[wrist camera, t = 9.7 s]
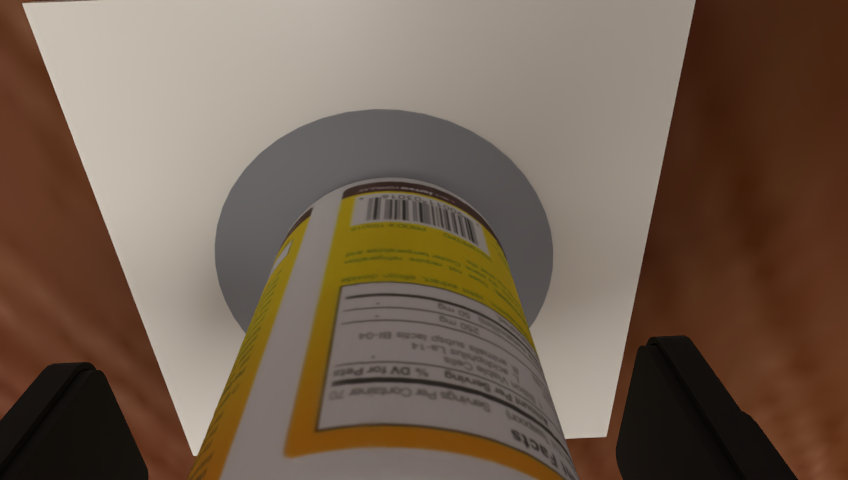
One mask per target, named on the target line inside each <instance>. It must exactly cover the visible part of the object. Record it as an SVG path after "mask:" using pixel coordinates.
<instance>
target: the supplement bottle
mask: <svg viewBox="0 0 848 480" xmlns="http://www.w3.org/2000/svg"><path fill="white" fill-rule="evenodd" d="M187 480H579V477H578V475H577V473H576V470H575V467H574V464H573V461H572V458H571V455H570V452H569V449H568V446H567V443H566V440H565V437H564V434H563V431H562V428H561V424H560V421H559V418H558V415H557V412H556V409H555V406H554V403H553V400H552V397H551V394H550V391H549V388H548V385H547V382H546V379H545V376H544V372H543V369H542V366H541V363H540V359H539V357H538V354H537V351H536V348H535V345H534V342H533V339H532V336H531V333H530V330H529V327H528V324H527V321H526V318H525V315H524V312H523V308H522V305H521V302H520V299H519V296H518V293H517V290H516V287H515V284H514V280H513V278H512V275H511V272H510V268H509V265H508V262H507V259H506V255H505V253H504V251H503V248H502V246H501V244H500V241H499V239H498V237H497V236H496V234H495V232H494V231H493V229H492V228H491V226H490V225H489V223H488V222H487V221H486V220H485V218H484V217H483V216H482V215H481V214H480V213H479V212H478V211H477V210H476V209H475V208H474V207H473V206H471V205H470V204H469V203H468V202H466V201H465V200H464V199H462V198H461V197H459V196H458V195H456V194H454V193H452V192H450V191H448V190H446V189H444V188H441V187H439V186H437V185H434V184H431V183H427V182H424V181H419V180H414V179H407V178H393V177H388V178H375V179H368V180H363V181H359V182H355V183H352V184H348V185H346V186H343V187H341V188H338V189H336V190H334V191H332V192H330V193H328V194H326V195H325V196H323V197H322V198H320V199H319V200H317V201H316V202H315V203H313V204H312V205H311V206H309V207H308V208H307V209H306V210H305V211H304V212H303V213H302V214H301V215H300V216H299V218H298V219H297V220H296V221H295V222H294V224H293V225H292V227H291V228H290V229H289V231H288V233H287V235H286V237H285V238H284V240H283V243H282V245H281V248H280V250H279V252H278V254H277V257H276V259H275V262H274V264H273V267H272V269H271V272H270V274H269V277H268V280H267V282H266V285H265V288H264V290H263V293H262V295H261V298H260V300H259V303H258V305H257V308H256V310H255V312H254V315H253V318H252V320H251V322H250V325H249V327H248V330H247V333H246V335H245V337H244V340H243V342H242V345H241V347H240V350H239V353H238V355H237V358H236V360H235V363H234V365H233V368H232V370H231V373H230V375H229V378H228V380H227V383H226V385H225V388H224V390H223V393H222V395H221V397H220V400H219V402H218V405H217V407H216V409H215V412H214V415H213V418H212V420H211V423H210V425H209V427H208V430H207V433H206V436H205V438H204V440H203V443H202V445H201V448H200V450H199V453H198V455H197V457H196V459H195V462H194V465H193V468H192V470H191V472H190V474H189V477H188V479H187Z"/></svg>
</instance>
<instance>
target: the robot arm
mask: <svg viewBox="0 0 848 480" xmlns="http://www.w3.org/2000/svg"><path fill="white" fill-rule="evenodd" d="M616 459H617V464H618V467H619V470H620V473H621V475H622V478H623V480H798V479H797V478H796V476H795V475H794V473H793V472H792V471H791V469H790V468H789V467H788V465H787V464H786V462H785V461H784V460H783V458H782V457H781V456H780V454H779V453H778V451H777V450H776V449H775V447H774V446H773V445H772V443H771V442H770V440H769V439H768V438H767V436H766V435H765V434H764V432H763V431H762V429H761V428H760V427H759V425H758V424H757V423H756V422H755V421H754V420H753V418H752V417H751V416H749V415H748V414H746V413H744V412H742V411H741V410H740V408H739V407H738V405H737V404H736V403H735V401H734V400H733V398H732V397H731V396H730V394H729V393H728V391H727V390H726V389H725V387H724V386H723V384H722V383H721V381H720V380H719V379H718V377H717V376H716V374H715V373H714V372H713V370H712V369H711V367H710V366H709V365H708V363H707V362H706V360H705V359H704V358H703V356H702V355H701V353H700V352H699V351H698V349H697V348H696V346H695V345H694V344H693V342H692V341H691V340H690V339H689V338H688V337H686V336H662V337H651V338H650V339H649V340H648V342H647V345H646V346H640V347H639V348H638V351H637V355H636V360H635V364H634V369H633V373H632V378H631V382H630V387H629V391H628V396H627V400H626V405H625V409H624V414H623V418H622V423H621V427H620V432H619V436H618V441H617V446H616ZM0 480H148V470H147V467H146V465H145V462H144V460H143V458H142V456H141V454H140V451H139V449H138V447H137V445H136V443H135V440H134V438H133V436H132V434H131V432H130V429H129V427H128V425H127V423H126V420H125V418H124V416H123V414H122V412H121V409H120V407H119V405H118V403H117V401H116V398H115V396H114V394H113V392H112V390H111V387H110V385H109V383H108V381H107V379H106V376H105V375H104V373H103V372H102V371H100V370H96V368H95V367H94V365H92V364H91V363H88V362H79V363H57V364H51V365H49V366H47V367H46V368H45V369H44V370H43V371H42V372H41V373H40V375H39V376H38V377H37V378H36V379H35V380H34V382H33V383H32V384H31V385H30V386H29V388H28V389H27V390H26V391H25V392H24V393H23V395H22V396H21V397H20V398H19V399H18V401H17V402H16V403H15V404H14V405H13V406H12V408H11V409H10V410H9V411H8V412H7V414H6V415H5V416H4V417H3V418H2V419H1V421H0Z"/></svg>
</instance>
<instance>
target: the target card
mask: <svg viewBox="0 0 848 480" xmlns="http://www.w3.org/2000/svg"><path fill="white" fill-rule="evenodd" d="M695 1H696V0H55V1H34V2H27V3H22V5H23V7H24V10H25V13H26V15H27V18H28V20H29V23H30V26H31V28H32V31H33V34H34V36H35V39H36V42H37V44H38V47H39V50H40V52H41V55H42V57H43V60H44V63H45V65H46V68H47V71H48V73H49V76H50V79H51V81H52V84H53V86H54V89H55V92H56V94H57V97H58V100H59V102H60V105H61V108H62V110H63V113H64V116H65V118H66V121H67V123H68V126H69V129H70V131H71V134H72V137H73V139H74V142H75V145H76V147H77V150H78V152H79V155H80V158H81V160H82V163H83V166H84V168H85V171H86V174H87V176H88V179H89V182H90V184H91V187H92V189H93V192H94V195H95V197H96V200H97V203H98V205H99V208H100V211H101V213H102V216H103V218H104V221H105V224H106V226H107V229H108V232H109V234H110V237H111V240H112V242H113V245H114V248H115V250H116V253H117V255H118V258H119V261H120V263H121V266H122V269H123V271H124V274H125V277H126V279H127V282H128V284H129V287H130V290H131V292H132V295H133V298H134V300H135V303H136V306H137V308H138V311H139V314H140V316H141V319H142V321H143V324H144V327H145V329H146V332H147V335H148V337H149V340H150V343H151V345H152V348H153V350H154V353H155V356H156V358H157V361H158V364H159V366H160V369H161V372H162V374H163V377H164V380H165V382H166V385H167V387H168V390H169V393H170V395H171V398H172V401H173V403H174V406H175V409H176V411H177V414H178V416H179V419H180V422H181V424H182V427H183V430H184V432H185V435H186V438H187V440H188V443H189V446H190V448H191V451H192V453H193V456H197V455H198V453H199V450H200V448H201V445H202V443H203V440H204V438H205V436H206V433H207V430H208V427H209V425H210V423H211V420H212V418H213V415H214V412H215V409H216V407H217V405H218V402H219V400H220V397H221V395H222V393H223V390H224V388H225V385H226V383H227V380H228V378H229V375H230V373H231V370H232V368H233V365H234V363H235V360H236V358H237V355H238V353H239V350H240V347H241V345H242V342H243V340H244V337H245V335H246V333H247V330H248V327H249V325H250V322H251V320H252V318H253V315H254V312H255V310H256V308H257V305H258V303H259V300H260V298H261V295H262V293H263V290H264V288H265V285H266V282H267V280H268V277H269V274H270V272H271V269H272V267H273V264H274V262H275V259H276V257H277V254H278V252H279V250H280V248H281V245H282V243H283V240H284V238H285V237H286V235H287V233H288V231H289V229H290V228H291V227H292V225H293V224H294V222H295V221H296V220H297V219H298V218H299V216H300V215H301V214H302V213H303V212H304V211H305V210H306V209H307V208H308V207H309V206H311V205H312V204H313V203H315V202H316V201H317V200H319V199H320V198H322V197H323V196H325V195H326V194H328V193H330V192H332V191H334V190H336V189H338V188H341V187H343V186H346V185H348V184H352V183H355V182H359V181H363V180H368V179H375V178H388V177H393V178H407V179H414V180H419V181H424V182H427V183H431V184H434V185H437V186H439V187H441V188H444V189H446V190H448V191H450V192H452V193H454V194H456V195H458V196H459V197H461V198H462V199H464V200H465V201H466V202H468V203H469V204H470V205H471V206H473V207H474V208H475V209H476V210H477V211H478V212H479V213H480V214H481V215H482V216H483V217H484V218H485V220H486V221H487V222H488V223H489V225H490V226H491V228H492V229H493V231H494V232H495V234H496V236H497V237H498V239H499V241H500V244H501V246H502V248H503V251H504V253H505V255H506V259H507V262H508V265H509V268H510V272H511V275H512V278H513V280H514V284H515V287H516V290H517V293H518V296H519V299H520V302H521V305H522V308H523V312H524V315H525V318H526V321H527V324H528V327H529V330H530V333H531V336H532V339H533V342H534V345H535V348H536V351H537V354H538V357H539V359H540V363H541V366H542V369H543V372H544V376H545V379H546V382H547V385H548V388H549V391H550V394H551V397H552V400H553V403H554V406H555V409H556V412H557V415H558V418H559V421H560V424H561V428H562V431H563V434H564V437H565V439H570V438H591V437H606V436H607V431H608V426H609V422H610V417H611V412H612V407H613V402H614V397H615V392H616V387H617V382H618V378H619V373H620V368H621V363H622V358H623V353H624V348H625V343H626V338H627V334H628V329H629V324H630V319H631V314H632V309H633V304H634V299H635V294H636V290H637V285H638V280H639V275H640V270H641V265H642V260H643V255H644V250H645V246H646V241H647V236H648V231H649V226H650V221H651V216H652V211H653V206H654V202H655V197H656V192H657V187H658V182H659V177H660V172H661V167H662V162H663V158H664V153H665V148H666V143H667V138H668V133H669V128H670V123H671V118H672V114H673V109H674V104H675V99H676V94H677V89H678V84H679V79H680V74H681V70H682V65H683V60H684V55H685V50H686V45H687V40H688V35H689V30H690V26H691V21H692V16H693V11H694V6H695Z"/></svg>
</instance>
